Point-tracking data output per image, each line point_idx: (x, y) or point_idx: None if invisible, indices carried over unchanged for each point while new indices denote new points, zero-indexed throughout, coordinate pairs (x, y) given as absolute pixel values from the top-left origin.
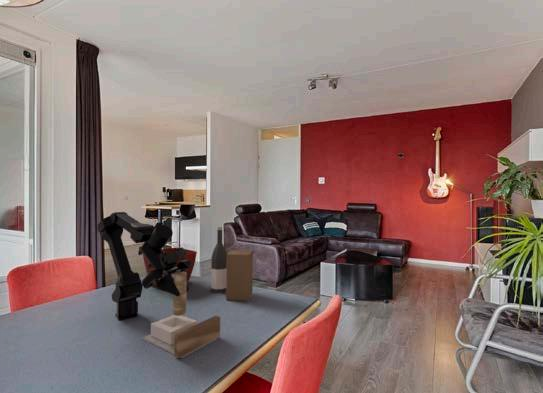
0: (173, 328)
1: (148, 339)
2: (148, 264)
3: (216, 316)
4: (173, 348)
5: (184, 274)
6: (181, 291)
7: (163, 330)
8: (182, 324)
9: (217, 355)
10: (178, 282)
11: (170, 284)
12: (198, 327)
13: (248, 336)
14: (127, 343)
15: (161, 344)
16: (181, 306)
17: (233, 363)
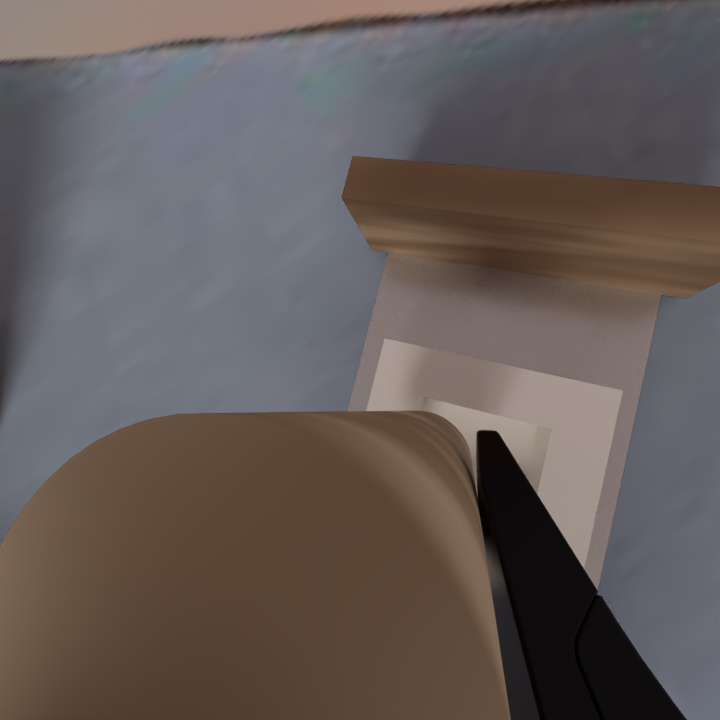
0: (559, 412)
1: (594, 578)
2: None
3: (353, 183)
4: (617, 354)
5: (263, 418)
6: (440, 435)
7: (600, 476)
8: (473, 393)
9: (546, 126)
10: (476, 523)
11: (660, 695)
12: (568, 176)
13: (320, 115)
14: (678, 699)
15: (609, 454)
16: (447, 424)
17: (578, 22)
